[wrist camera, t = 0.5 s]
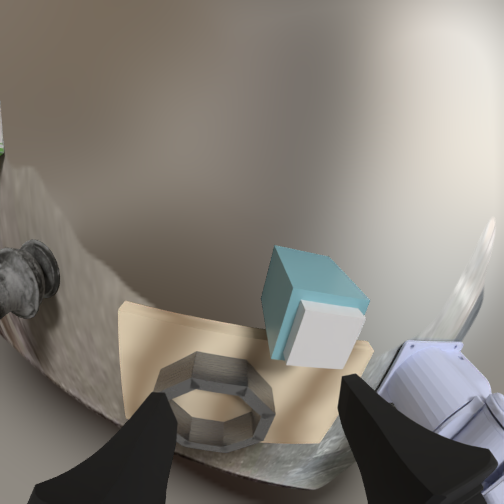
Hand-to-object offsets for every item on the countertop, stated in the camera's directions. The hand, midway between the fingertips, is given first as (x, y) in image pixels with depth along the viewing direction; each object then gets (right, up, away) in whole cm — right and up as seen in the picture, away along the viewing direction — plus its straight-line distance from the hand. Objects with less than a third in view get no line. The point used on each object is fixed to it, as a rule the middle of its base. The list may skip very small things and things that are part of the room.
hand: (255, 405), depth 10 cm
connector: (+3, +4, +10) cm, 11 cm away
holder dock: (-1, -6, +12) cm, 14 cm away
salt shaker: (-18, +5, +9) cm, 21 cm away
